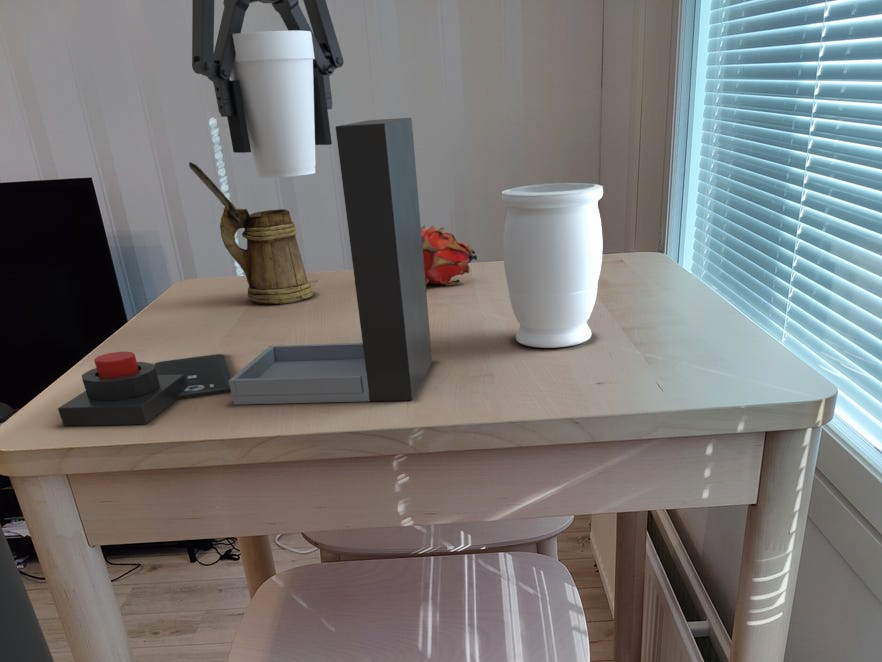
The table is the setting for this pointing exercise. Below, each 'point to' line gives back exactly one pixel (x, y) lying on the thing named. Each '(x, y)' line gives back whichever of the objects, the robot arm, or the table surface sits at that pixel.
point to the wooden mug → (263, 250)
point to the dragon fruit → (444, 256)
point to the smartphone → (199, 374)
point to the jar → (553, 260)
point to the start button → (116, 364)
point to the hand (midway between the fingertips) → (283, 148)
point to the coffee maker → (364, 287)
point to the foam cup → (278, 99)
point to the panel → (122, 398)
